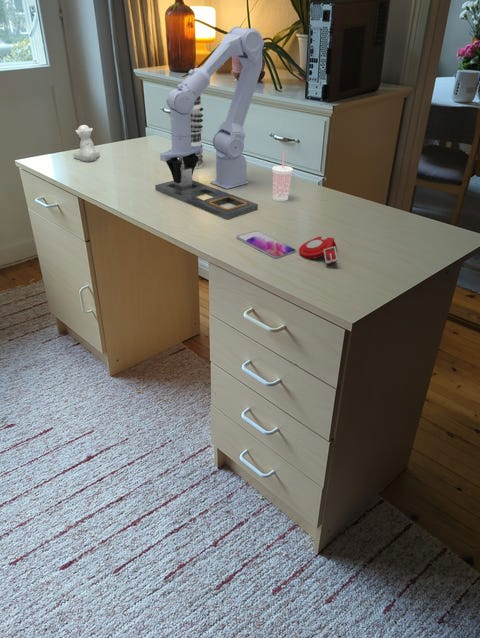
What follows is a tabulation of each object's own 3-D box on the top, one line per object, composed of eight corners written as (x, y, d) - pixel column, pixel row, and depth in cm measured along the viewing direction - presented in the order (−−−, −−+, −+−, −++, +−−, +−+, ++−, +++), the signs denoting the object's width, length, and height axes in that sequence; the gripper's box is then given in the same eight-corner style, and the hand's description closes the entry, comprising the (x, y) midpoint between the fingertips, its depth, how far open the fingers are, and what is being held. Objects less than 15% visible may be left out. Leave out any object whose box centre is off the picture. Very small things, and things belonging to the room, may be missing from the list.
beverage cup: (294, 198, 156) (298, 151, 149) (281, 203, 152) (285, 154, 145) (278, 193, 159) (282, 147, 152) (266, 198, 156) (268, 150, 148)
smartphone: (256, 230, 134) (297, 250, 124) (256, 233, 134) (297, 253, 124) (235, 236, 130) (275, 257, 120) (234, 239, 130) (275, 260, 120)
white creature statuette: (99, 155, 190) (95, 121, 184) (104, 161, 183) (100, 126, 177) (73, 157, 187) (68, 122, 180) (77, 163, 180) (72, 128, 174)
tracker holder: (289, 250, 123) (313, 229, 128) (294, 266, 125) (317, 245, 130) (331, 255, 114) (356, 233, 119) (336, 272, 117) (359, 249, 122)
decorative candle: (189, 160, 187) (187, 85, 174) (209, 165, 183) (208, 88, 169) (172, 166, 181) (168, 88, 167) (192, 171, 176) (190, 92, 163)
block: (184, 187, 161) (183, 165, 158) (192, 191, 159) (191, 168, 155) (173, 190, 159) (172, 167, 155) (182, 193, 157) (181, 170, 153)
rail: (185, 182, 166) (185, 176, 165) (257, 209, 147) (257, 203, 146) (155, 190, 159) (155, 184, 158) (227, 219, 140) (227, 213, 139)
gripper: (191, 128, 157) (192, 173, 164) (152, 135, 148) (155, 182, 155) (207, 133, 153) (207, 178, 160) (167, 140, 144) (170, 188, 151)
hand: (182, 181), depth 157 cm, fingers closed on block, 4 cm apart
